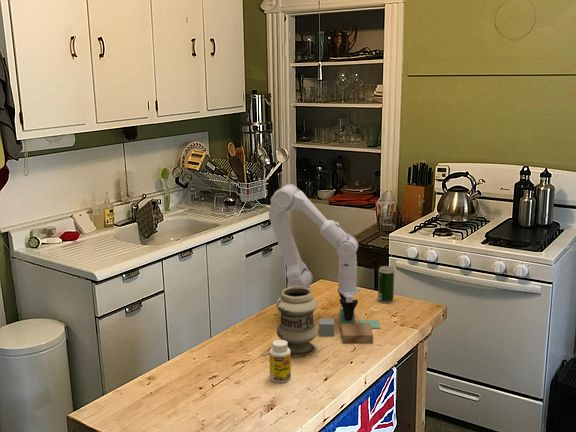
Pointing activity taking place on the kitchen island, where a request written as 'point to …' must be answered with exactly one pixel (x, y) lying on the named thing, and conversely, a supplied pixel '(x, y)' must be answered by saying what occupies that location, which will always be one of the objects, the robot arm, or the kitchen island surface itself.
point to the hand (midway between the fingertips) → (347, 315)
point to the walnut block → (356, 333)
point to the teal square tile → (371, 323)
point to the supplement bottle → (280, 361)
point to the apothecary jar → (297, 319)
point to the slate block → (326, 327)
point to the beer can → (386, 284)
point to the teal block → (342, 319)
